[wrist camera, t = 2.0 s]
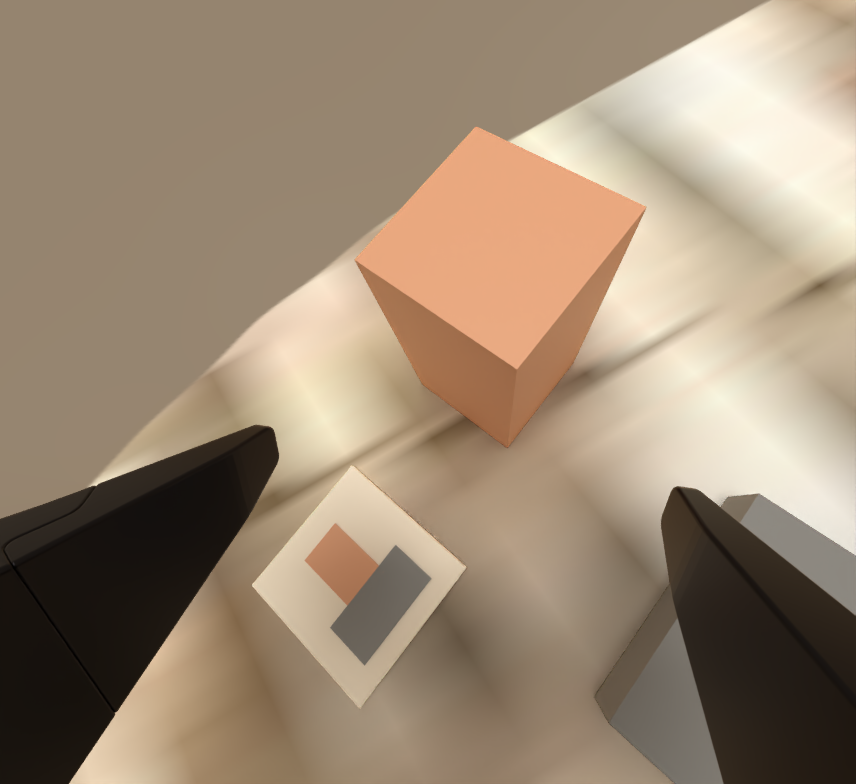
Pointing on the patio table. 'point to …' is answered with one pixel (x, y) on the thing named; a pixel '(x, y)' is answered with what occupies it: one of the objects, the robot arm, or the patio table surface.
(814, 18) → the patio table surface
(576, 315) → the terracotta block
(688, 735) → the slate base block
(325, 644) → the card
